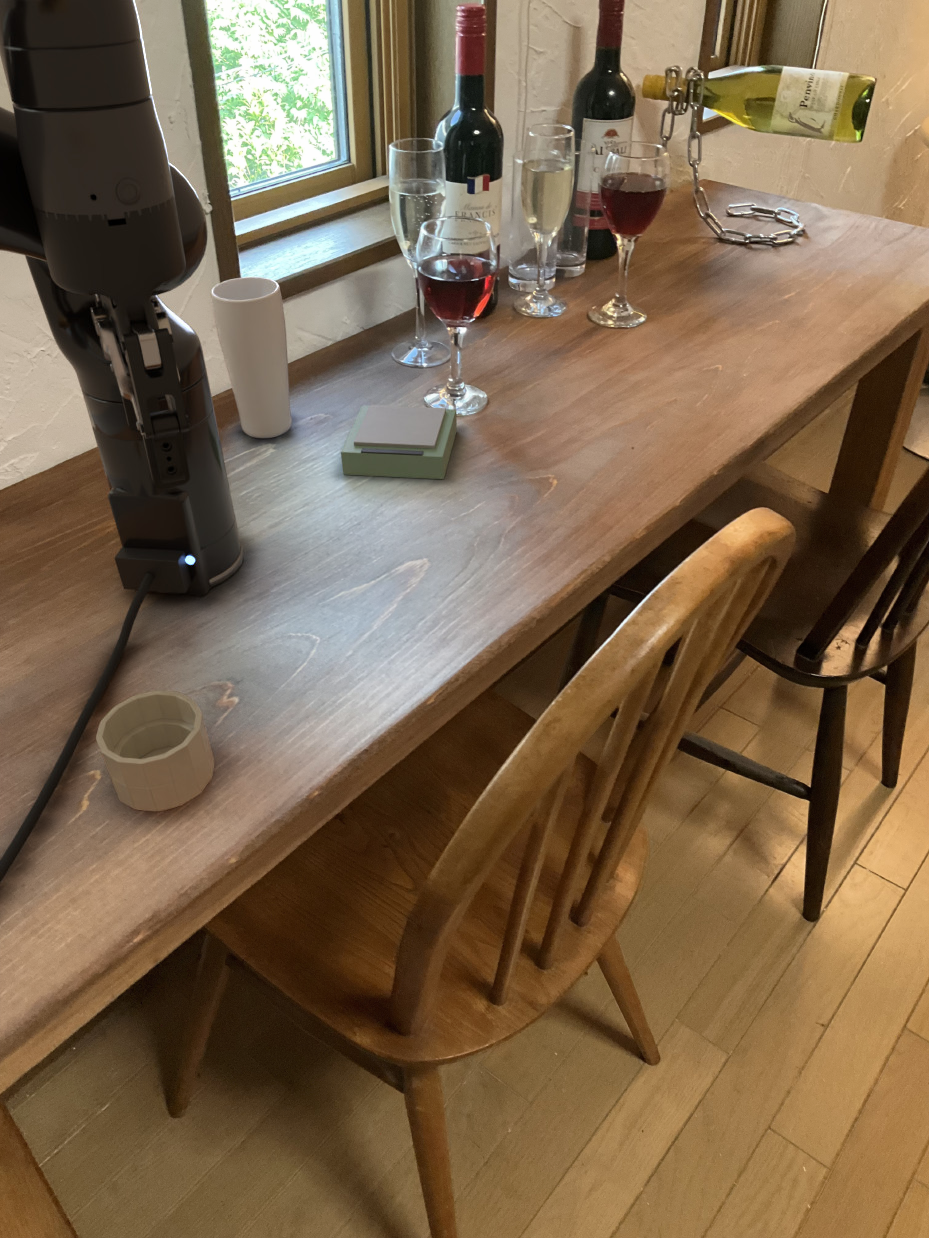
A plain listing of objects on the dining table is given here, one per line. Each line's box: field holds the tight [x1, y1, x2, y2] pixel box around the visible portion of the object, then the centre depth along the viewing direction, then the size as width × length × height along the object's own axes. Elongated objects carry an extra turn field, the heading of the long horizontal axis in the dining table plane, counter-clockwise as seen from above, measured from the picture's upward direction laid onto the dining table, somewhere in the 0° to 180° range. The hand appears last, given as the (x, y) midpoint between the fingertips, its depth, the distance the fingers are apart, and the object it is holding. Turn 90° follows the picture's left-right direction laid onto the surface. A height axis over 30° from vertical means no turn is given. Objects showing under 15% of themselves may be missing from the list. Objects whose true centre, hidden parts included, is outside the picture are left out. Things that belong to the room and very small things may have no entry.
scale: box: [340, 404, 458, 480], centre depth 97 cm, size 10×10×3 cm
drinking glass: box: [210, 276, 293, 439], centre depth 97 cm, size 7×7×15 cm
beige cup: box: [95, 689, 215, 813], centre depth 62 cm, size 6×6×5 cm
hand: (158, 454), depth 63 cm, fingers open, 8 cm apart
